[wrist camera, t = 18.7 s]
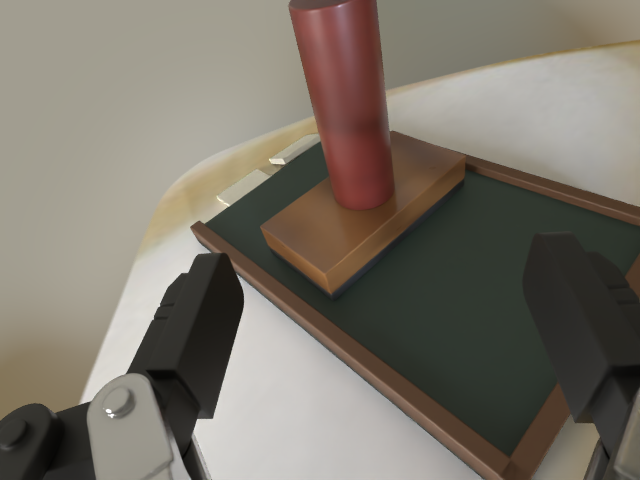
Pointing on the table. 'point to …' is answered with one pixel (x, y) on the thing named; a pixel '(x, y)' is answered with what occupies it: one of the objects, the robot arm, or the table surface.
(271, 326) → the table surface
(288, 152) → the white rectangular block
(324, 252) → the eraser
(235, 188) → the white rectangular block
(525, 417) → the board
